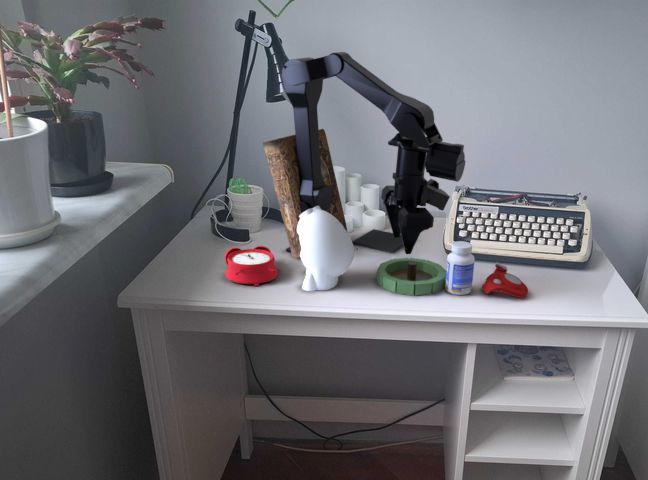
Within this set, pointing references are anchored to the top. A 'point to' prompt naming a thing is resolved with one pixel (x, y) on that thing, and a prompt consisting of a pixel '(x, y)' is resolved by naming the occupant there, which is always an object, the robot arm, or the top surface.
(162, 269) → the top surface
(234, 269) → the alarm clock
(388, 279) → the ring
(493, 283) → the tracker holder
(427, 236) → the top surface
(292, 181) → the book
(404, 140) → the robot arm
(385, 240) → the mat
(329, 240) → the figurine
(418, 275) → the ring stand
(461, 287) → the pill bottle
